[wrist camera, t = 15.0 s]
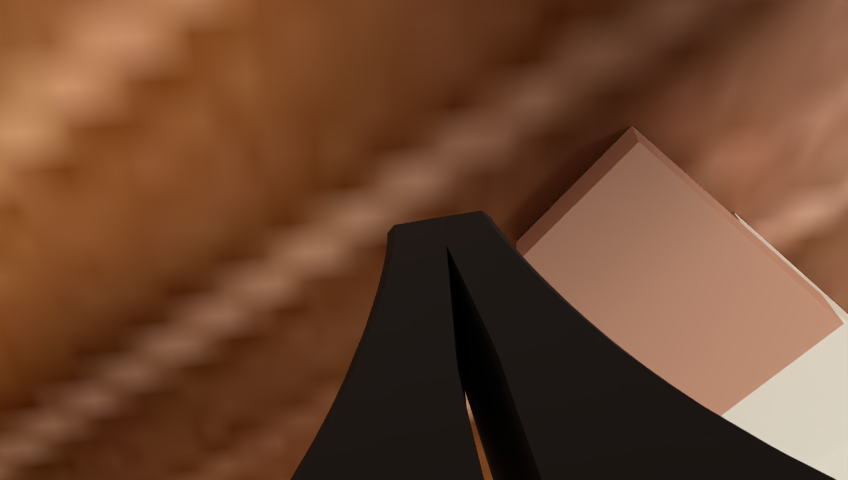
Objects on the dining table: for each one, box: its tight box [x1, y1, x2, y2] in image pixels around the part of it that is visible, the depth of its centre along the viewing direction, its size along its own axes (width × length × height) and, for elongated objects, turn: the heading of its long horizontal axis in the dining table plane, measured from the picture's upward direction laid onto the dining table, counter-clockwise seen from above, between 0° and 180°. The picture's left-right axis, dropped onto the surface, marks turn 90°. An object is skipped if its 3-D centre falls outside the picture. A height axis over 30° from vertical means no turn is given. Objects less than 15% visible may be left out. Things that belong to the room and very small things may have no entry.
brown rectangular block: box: [516, 126, 844, 416], centre depth 22 cm, size 2×5×8 cm
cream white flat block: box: [721, 213, 848, 466], centre depth 25 cm, size 2×5×8 cm
